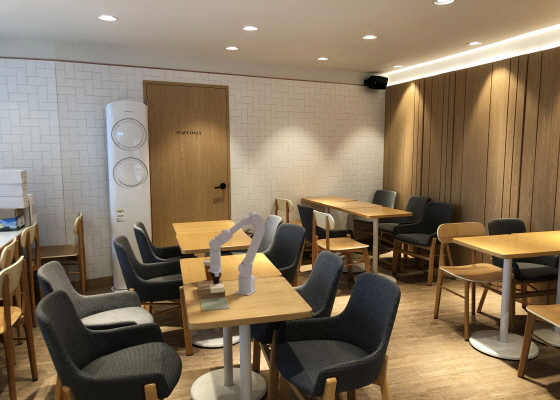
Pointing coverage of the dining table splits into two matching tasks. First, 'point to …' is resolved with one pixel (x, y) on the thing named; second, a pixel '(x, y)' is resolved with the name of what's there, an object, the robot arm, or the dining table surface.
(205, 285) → the deck
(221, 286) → the tile
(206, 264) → the disposable coffee cup
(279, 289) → the dining table surface
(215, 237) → the robot arm
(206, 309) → the mat
